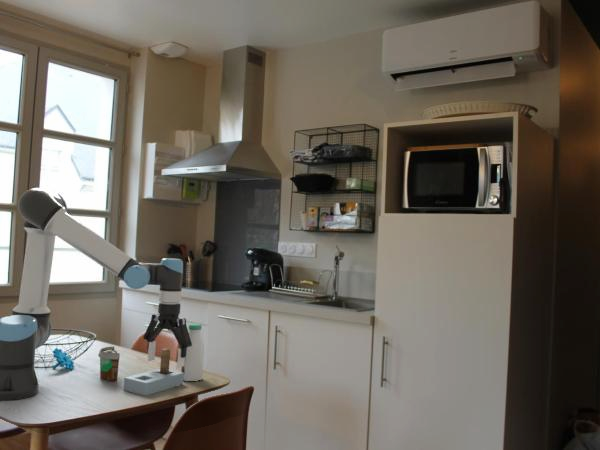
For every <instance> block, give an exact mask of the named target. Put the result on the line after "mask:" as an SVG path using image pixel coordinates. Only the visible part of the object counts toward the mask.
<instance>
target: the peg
mask: <svg viewBox="0 0 600 450" xmlns="http://www.w3.org/2000/svg"><path fill="white" fill-rule="evenodd" d="M170 359H171V348H162V349H161V350H160V368H159V369H160V374H164V375H167V374H169V370H170V361H171V360H170Z"/></svg>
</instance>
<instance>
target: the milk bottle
mask: <svg viewBox="0 0 600 450" xmlns="http://www.w3.org/2000/svg"><path fill="white" fill-rule="evenodd" d="M201 331H202V324H201V323H189V324H188V333H189V336H190V339H191V343H192V346H190V347H187V351H186V357H185V360H184V366H183V367H180V368H181V371H180V372H182V373H184V376H183V380H184V381H183V382H188V381H196V382H199V381H198V380H200V381H202V380H201V379H203V375H204V358H205V345H204V340H203V338H202V333H201Z"/></svg>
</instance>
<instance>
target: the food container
mask: <svg viewBox="0 0 600 450" xmlns="http://www.w3.org/2000/svg"><path fill="white" fill-rule="evenodd" d="M97 356H98V357H99V372H100V373H99V376H100V377H99V379H100V380H102V381H105V382H117V381H118V375H119V366H120V364H119V362H120V352H117V350H115V346H106V347H101V348H100V350H99V352H98V354H97Z"/></svg>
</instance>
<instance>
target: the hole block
mask: <svg viewBox="0 0 600 450" xmlns="http://www.w3.org/2000/svg"><path fill="white" fill-rule="evenodd" d="M183 376H184V373H182V372H181V371H177V370H173V369H169V374H167V375H164V374H160V368H157V369H153V370H150V371H144V372H142V373H137V374H134V375H129V376H126V377H124V378H123V389H122V390H123V391H127V392H131V393H133V394H134V393H135V394H138V395H142V396H149V395H152V394H155V393H158V392H159V393H160V392H162V391H165V390H170V389H171V388H176V387H178V386H177V385H179V386H181V385H180V384H182V385H184V381H183ZM175 386H176V387H175Z"/></svg>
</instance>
